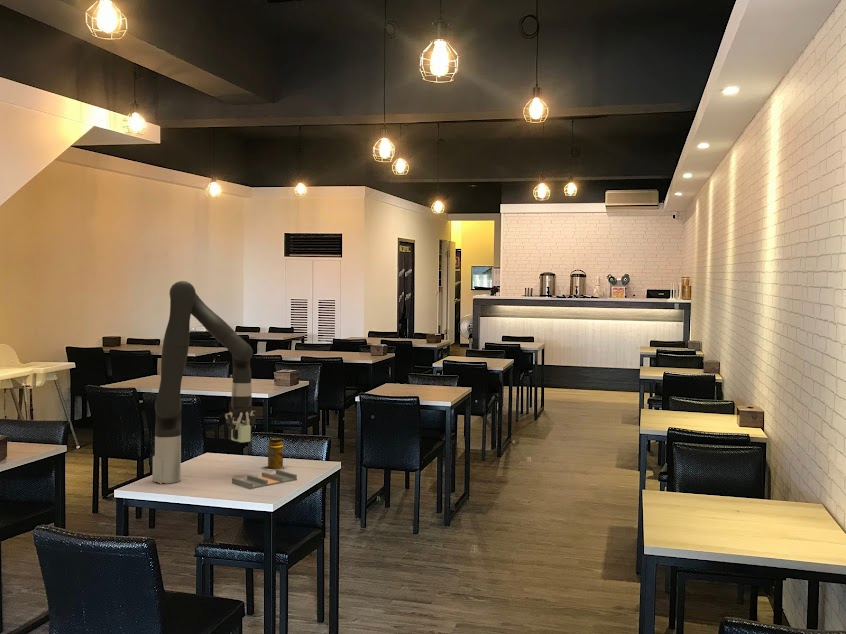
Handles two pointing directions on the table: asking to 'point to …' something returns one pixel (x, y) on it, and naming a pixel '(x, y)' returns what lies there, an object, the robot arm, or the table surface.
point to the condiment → (274, 454)
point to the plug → (243, 433)
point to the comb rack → (265, 479)
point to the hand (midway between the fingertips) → (240, 438)
